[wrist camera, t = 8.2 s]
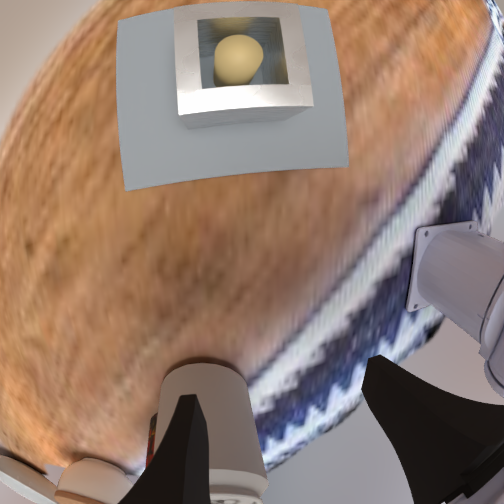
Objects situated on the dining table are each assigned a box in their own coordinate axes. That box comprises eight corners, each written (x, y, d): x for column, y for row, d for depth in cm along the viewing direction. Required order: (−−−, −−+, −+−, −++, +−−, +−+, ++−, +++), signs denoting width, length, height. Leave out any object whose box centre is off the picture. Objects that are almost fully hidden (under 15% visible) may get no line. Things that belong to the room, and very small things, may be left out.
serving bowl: (66, 497, 32) (63, 517, 25) (-4, 456, 25) (-10, 474, 19) (78, 485, 28) (74, 511, 22) (-11, 431, 22) (-21, 454, 16)
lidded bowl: (102, 445, 24) (89, 515, 13) (160, 483, 28) (159, 540, 18) (51, 447, 23) (35, 501, 13) (105, 484, 28) (99, 532, 18)
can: (155, 355, 20) (135, 489, 9) (248, 353, 21) (281, 487, 10) (169, 411, 22) (165, 520, 11) (245, 409, 23) (268, 517, 12)
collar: (274, 41, 13) (297, 4, 8) (283, 121, 15) (313, 106, 10) (182, 46, 12) (173, 7, 8) (188, 129, 14) (178, 114, 10)
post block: (321, 14, 13) (352, -17, 9) (342, 166, 17) (384, 171, 13) (122, 26, 12) (99, -7, 7) (130, 189, 16) (101, 201, 11)
